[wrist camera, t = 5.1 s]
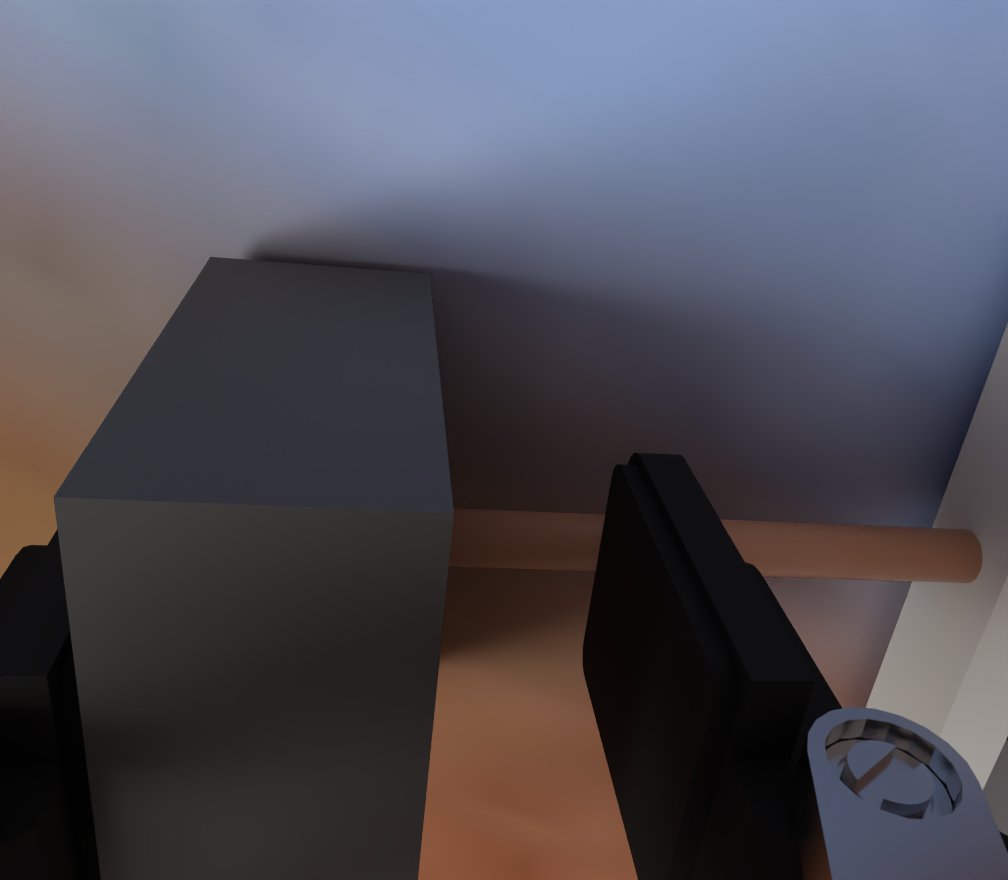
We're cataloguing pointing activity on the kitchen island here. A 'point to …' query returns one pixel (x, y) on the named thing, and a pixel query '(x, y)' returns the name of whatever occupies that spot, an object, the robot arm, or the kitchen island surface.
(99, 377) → the kitchen island surface
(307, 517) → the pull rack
